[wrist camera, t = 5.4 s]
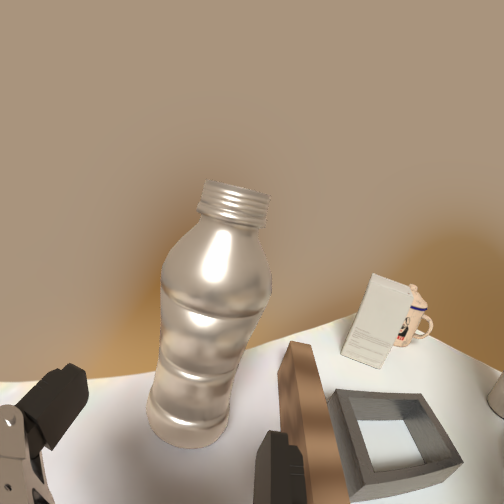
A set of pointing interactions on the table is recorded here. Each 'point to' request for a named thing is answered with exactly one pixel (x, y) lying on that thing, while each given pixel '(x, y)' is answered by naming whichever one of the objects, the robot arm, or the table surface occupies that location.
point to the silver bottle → (208, 315)
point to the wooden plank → (310, 425)
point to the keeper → (420, 426)
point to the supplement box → (378, 321)
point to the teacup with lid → (413, 320)
